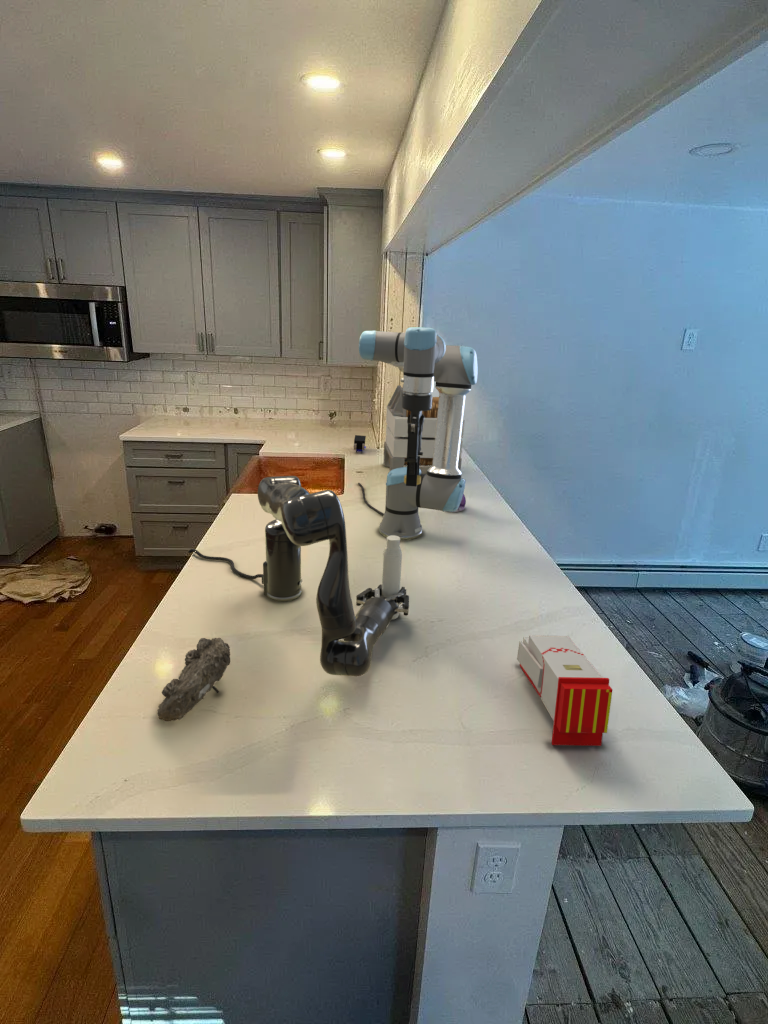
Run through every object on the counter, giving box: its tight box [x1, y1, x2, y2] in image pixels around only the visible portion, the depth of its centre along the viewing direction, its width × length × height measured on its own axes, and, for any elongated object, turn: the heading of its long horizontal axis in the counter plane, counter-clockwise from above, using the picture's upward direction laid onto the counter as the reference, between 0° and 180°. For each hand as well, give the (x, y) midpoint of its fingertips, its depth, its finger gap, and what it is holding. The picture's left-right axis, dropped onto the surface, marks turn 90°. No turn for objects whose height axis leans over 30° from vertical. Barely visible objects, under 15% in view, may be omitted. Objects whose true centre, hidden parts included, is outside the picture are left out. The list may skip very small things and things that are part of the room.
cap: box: [404, 475, 421, 485], centre depth 148 cm, size 4×4×2 cm
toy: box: [516, 634, 613, 747], centre depth 116 cm, size 12×13×30 cm
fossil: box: [157, 637, 231, 723], centre depth 113 cm, size 22×10×15 cm
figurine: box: [453, 492, 467, 513], centre depth 225 cm, size 9×10×15 cm
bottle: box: [381, 535, 403, 621], centre depth 143 cm, size 5×5×22 cm
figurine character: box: [353, 434, 367, 454], centre depth 311 cm, size 7×8×15 cm
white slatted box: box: [383, 384, 465, 472], centre depth 268 cm, size 34×33×41 cm
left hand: (393, 588), depth 147 cm, fingers closed on bottle, 4 cm apart
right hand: (412, 482), depth 149 cm, fingers closed on cap, 4 cm apart
